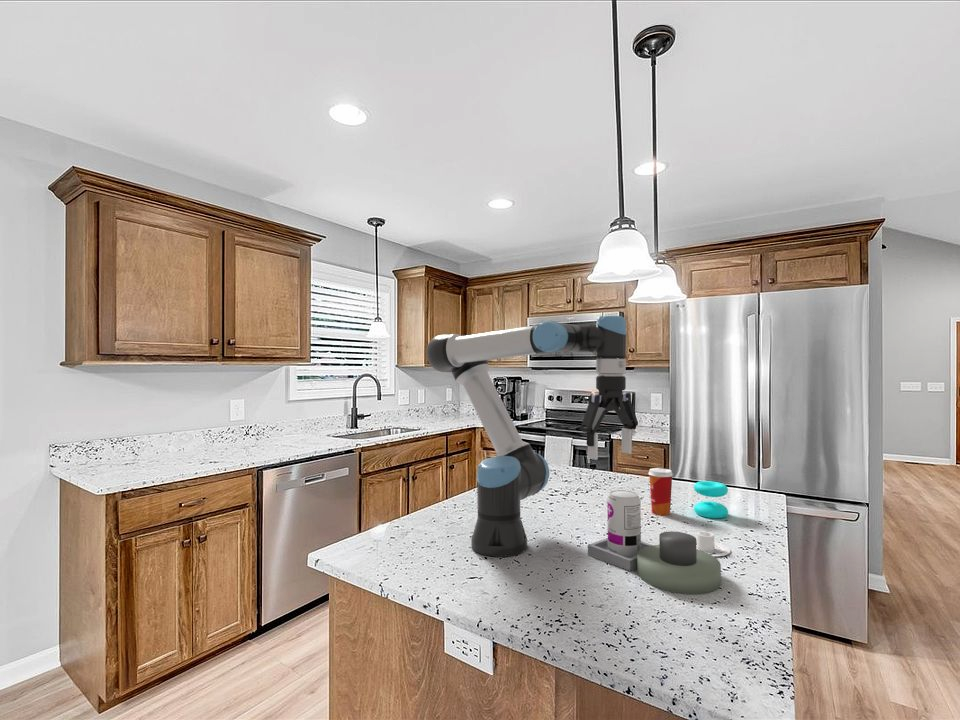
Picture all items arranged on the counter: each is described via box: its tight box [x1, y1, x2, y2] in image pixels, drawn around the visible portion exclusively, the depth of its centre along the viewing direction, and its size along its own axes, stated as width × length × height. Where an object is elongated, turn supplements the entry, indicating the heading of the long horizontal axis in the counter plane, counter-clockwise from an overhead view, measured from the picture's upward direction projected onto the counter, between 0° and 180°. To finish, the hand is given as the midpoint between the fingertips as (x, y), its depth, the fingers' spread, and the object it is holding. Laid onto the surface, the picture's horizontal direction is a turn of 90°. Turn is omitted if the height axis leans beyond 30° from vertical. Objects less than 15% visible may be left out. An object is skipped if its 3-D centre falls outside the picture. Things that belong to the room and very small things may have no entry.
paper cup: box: [647, 467, 674, 516], centre depth 163 cm, size 8×8×14 cm
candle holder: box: [696, 530, 731, 557], centre depth 133 cm, size 12×12×4 cm
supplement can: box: [606, 489, 642, 557], centre depth 128 cm, size 8×8×15 cm
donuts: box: [693, 480, 729, 519], centre depth 161 cm, size 10×10×10 cm
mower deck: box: [587, 530, 722, 595], centre depth 121 cm, size 18×30×9 cm, turn 37°
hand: (610, 455), depth 131 cm, fingers open, 13 cm apart
